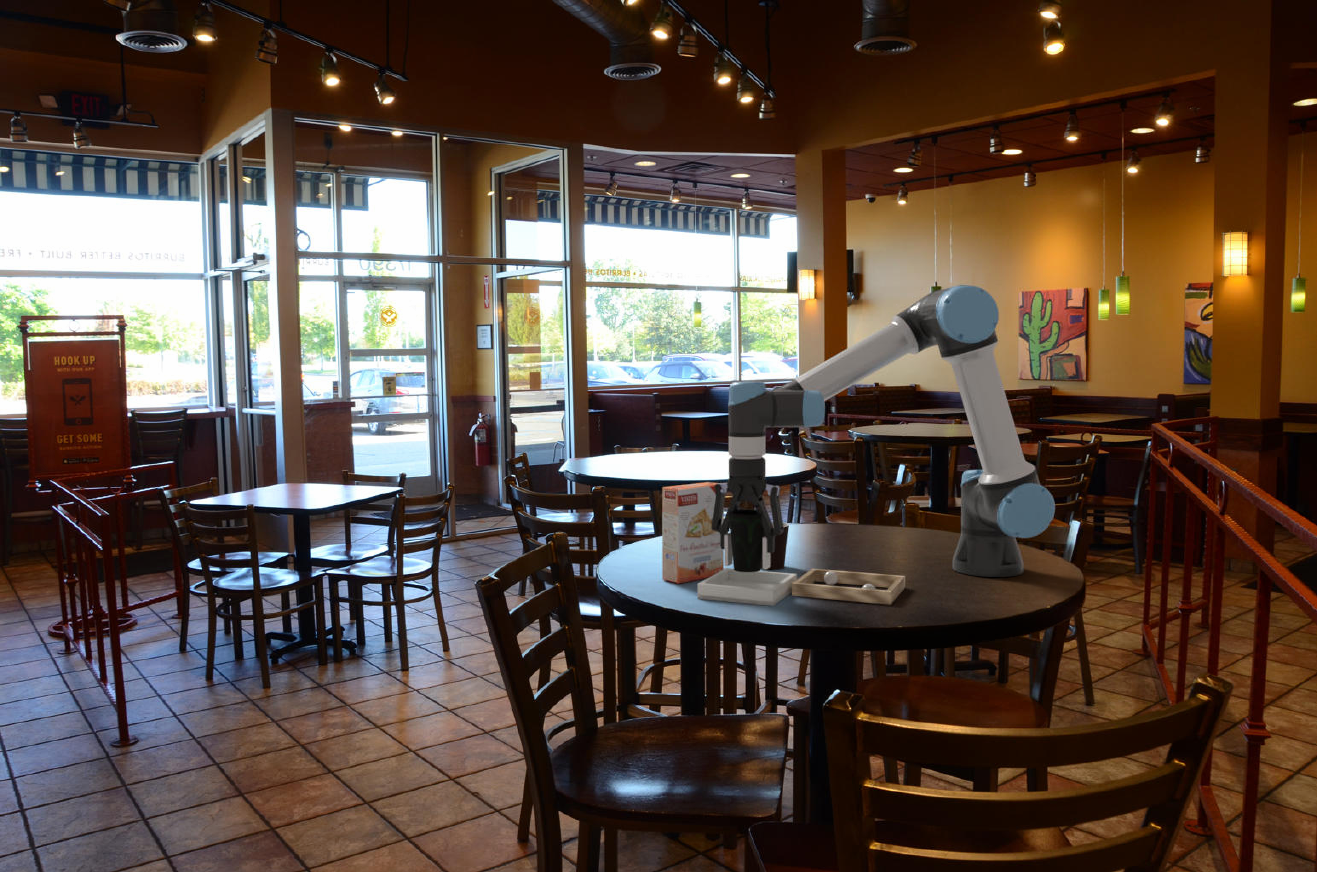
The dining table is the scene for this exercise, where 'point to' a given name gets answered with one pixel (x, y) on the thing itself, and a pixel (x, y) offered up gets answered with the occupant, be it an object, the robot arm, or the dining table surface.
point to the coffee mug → (778, 550)
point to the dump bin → (747, 587)
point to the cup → (746, 540)
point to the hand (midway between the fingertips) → (747, 566)
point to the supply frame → (809, 589)
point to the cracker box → (690, 533)
